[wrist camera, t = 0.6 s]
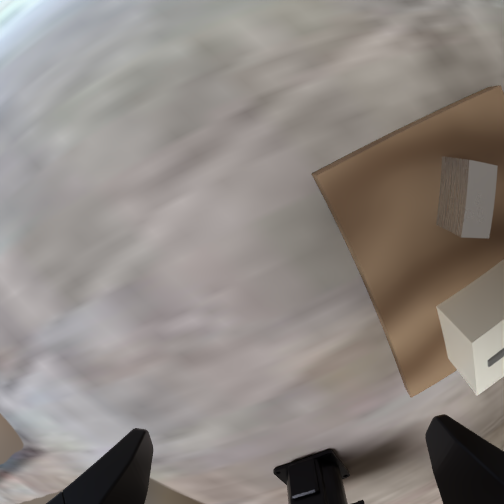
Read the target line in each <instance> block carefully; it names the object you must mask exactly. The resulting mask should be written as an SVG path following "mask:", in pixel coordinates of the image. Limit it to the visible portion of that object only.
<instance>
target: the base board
mask: <svg viewBox="0 0 504 504" xmlns="http://www.w3.org/2000/svg"><path fill="white" fill-rule="evenodd" d="M442 156H443V157H451V158H459V159H467V160H473V161H478V162H483V163H487V164H492V165H496V166H498V167H497V181H496V192H495V201H494V209H493V217H492V223H491V230H490V236H489V239H488V238H464V237H459V236H457V235H456V234H454V233H452V232H450V231H448V230H446V229H444V228H442V227H440V226H438V225H436V220H437V212H438V203H439V193H440V181H441V167H442ZM312 176H313V178H314V179H315V181H316V183H317V185H318V187H319V189H320V191H321V193H322V195H323V197H324V199H325V201H326V203H327V205H328V207H329V209H330V211H331V213H332V215H333V217H334V219H335V221H336V223H337V225H338V227H339V229H340V231H341V233H342V236H343V238H344V240H345V242H346V244H347V246H348V248H349V250H350V253H351V255H352V257H353V259H354V261H355V264H356V266H357V268H358V270H359V272H360V275H361V277H362V279H363V282H364V284H365V286H366V288H367V291H368V293H369V295H370V298H371V300H372V303H373V305H374V307H375V310H376V312H377V315H378V317H379V319H380V322H381V324H382V327H383V329H384V332H385V334H386V337H387V340H388V342H389V345H390V347H391V350H392V353H393V355H394V358H395V361H396V363H397V366H398V369H399V372H400V374H401V377H402V380H403V383H404V386H405V388H406V390H407V392H408V393H409V395H410V397H413V396H415V395H417V394H418V393H420V392H422V391H424V390H425V389H427V388H429V387H430V386H432V385H434V384H435V383H437V382H439V381H440V380H442V379H444V378H445V377H447V376H448V375H450V374H451V373H453V372H455V371H456V370H457V369H456V368H455V367H454V365H453V364H452V363H451V361H450V360H449V359H448V355H447V350H446V345H445V341H444V336H443V332H442V328H441V324H440V319H439V315H438V311H437V308H436V306H437V305H439V304H441V303H442V302H444V301H445V300H447V299H448V298H450V297H451V296H453V295H454V294H456V293H457V292H459V291H460V290H462V289H463V288H465V287H466V286H468V285H469V284H471V283H472V282H473V281H475V280H476V279H478V278H479V277H480V276H482V275H483V274H485V273H486V272H487V271H489V270H490V269H491V268H493V267H494V266H495V265H497V264H498V263H499V262H501V261H502V260H503V259H504V93H503V91H502V88H501V86H493V87H488V88H485V89H483V90H481V91H479V92H477V93H474V94H472V95H470V96H468V97H465V98H463V99H461V100H459V101H457V102H455V103H452V104H450V105H448V106H446V107H444V108H442V109H440V110H437V111H435V112H433V113H431V114H429V115H427V116H425V117H423V118H421V119H419V120H417V121H414V122H412V123H410V124H408V125H406V126H404V127H402V128H400V129H398V130H396V131H394V132H392V133H390V134H388V135H386V136H384V137H382V138H380V139H378V140H376V141H374V142H372V143H370V144H368V145H366V146H364V147H362V148H360V149H358V150H356V151H354V152H352V153H350V154H348V155H346V156H344V157H343V158H341V159H339V160H337V161H335V162H333V163H331V164H329V165H327V166H325V167H323V168H321V169H320V170H318V171H316V172H314V173H312Z"/></svg>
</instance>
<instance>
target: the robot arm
mask: <svg viewBox="0 0 504 504" xmlns="http://www.w3.org/2000/svg"><path fill="white" fill-rule="evenodd" d="M426 442H427V447H428V451H429V455H430V460H431V464H432V469H433V473H434V476H435V479H436V482H437V485H438V488H439V491H440V495H441V498H442V501H443V504H504V451H502V450H500V449H499V448H497V447H496V446H494V445H492V444H491V443H489V442H488V441H486V440H485V439H483V438H481V437H480V436H478V435H477V434H475V433H474V432H472V431H470V430H469V429H467V428H466V427H464V426H463V425H461V424H460V423H458V422H456V421H455V420H453V419H452V418H450V417H449V416H447V415H439V416H435V417H434V418H433V419H432V421H431V424H430V426H429V428H428V430H427V432H426ZM152 456H153V444H152V441H151V438H150V435H149V432H148V431H147V430H145V429H139V428H135V429H133V430H132V431H130V432H129V433H128V434H127V435H126V436H125V437H124V438H123V439H122V440H120V441H119V442H118V443H117V444H116V445H115V446H114V447H113V448H112V449H110V450H109V451H108V452H107V453H106V454H105V455H104V456H102V457H101V458H100V459H99V460H98V461H97V462H96V463H94V464H93V465H92V466H91V467H90V468H89V469H87V470H86V471H85V472H84V473H83V474H82V475H80V476H79V477H78V478H77V479H76V480H75V481H73V482H72V483H71V484H70V485H69V486H67V487H66V488H65V489H64V490H63V492H60V493H59V494H58V495H56V496H55V497H54V498H53V499H52V500H50V501H49V502H48V503H46V504H144V503H145V499H146V495H147V491H148V485H149V477H150V470H151V463H152ZM273 471H274V474H275V475H276V476H277V477H278V478H279V479H280V480H282V481H283V482H284V483H285V484H286V485H287V490H288V502H289V504H348V503H347V499H346V494H345V490H344V485H343V481H342V479H344V478H347V477H349V476H350V474H349V471H348V470H347V469H346V467H345V466H344V465H343V464H342V462H341V461H340V460H339V458H338V457H337V456H336V455H335V453H334V452H333V451H332V450H327V451H324V452H321V453H319V454H316V455H313V456H311V457H308V458H305V459H302V460H299V461H296V462H293V463H290V464H287V465H284V466H281V467H277V468H275V469H274V470H273ZM352 504H364V501H363V500H361V501H358V502H356V503H352Z"/></svg>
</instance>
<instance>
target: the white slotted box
mask: <svg viewBox="0 0 504 504" xmlns="http://www.w3.org/2000/svg"><path fill="white" fill-rule="evenodd" d="M436 308H437V311H438V315H439V319H440V324H441V328H442V332H443V336H444V341H445V345H446V350H447V355H448V359H449V360H450V361H451V363H452V364H453V365H454V367H455V368H456V369H457V370H458V372H459V373H460V374H461V376H462V377H463V378H464V379H465V381H466V382H467V383H468V385H469V386H470V387H471V389H472V390H473V391H474V393H475V394H476V396H477V395H479V394H480V393H482V392H483V391H484V390H486V389H487V388H489V387H490V386H491V385H493V384H494V383H495V382H497V381H498V380H499V379H501V378H502V377H503V376H504V259H503V260H502V261H501V262H499V263H498V264H497V265H495V266H494V267H493V268H491V269H490V270H489V271H487V272H486V273H485V274H483V275H482V276H480V277H479V278H478V279H476V280H475V281H473V282H472V283H471V284H469V285H468V286H466V287H465V288H463V289H462V290H460V291H459V292H457V293H456V294H454V295H453V296H451V297H450V298H448V299H447V300H445V301H444V302H442V303H441V304H439V305H437V306H436Z"/></svg>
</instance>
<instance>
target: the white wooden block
mask: <svg viewBox="0 0 504 504" xmlns="http://www.w3.org/2000/svg"><path fill="white" fill-rule="evenodd" d="M497 167H498V166H496V165H492V164H487V163H483V162H478V161H473V160H467V159H459V158H451V157H443V156H442V167H441V181H440V193H439V203H438V212H437V220H436V225H438V226H440V227H442V228H444V229H446V230H448V231H450V232H452V233H454V234H456V235H457V236H459V237H464V238H488V239H489V236H490V230H491V223H492V217H493V209H494V201H495V192H496V181H497Z"/></svg>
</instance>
